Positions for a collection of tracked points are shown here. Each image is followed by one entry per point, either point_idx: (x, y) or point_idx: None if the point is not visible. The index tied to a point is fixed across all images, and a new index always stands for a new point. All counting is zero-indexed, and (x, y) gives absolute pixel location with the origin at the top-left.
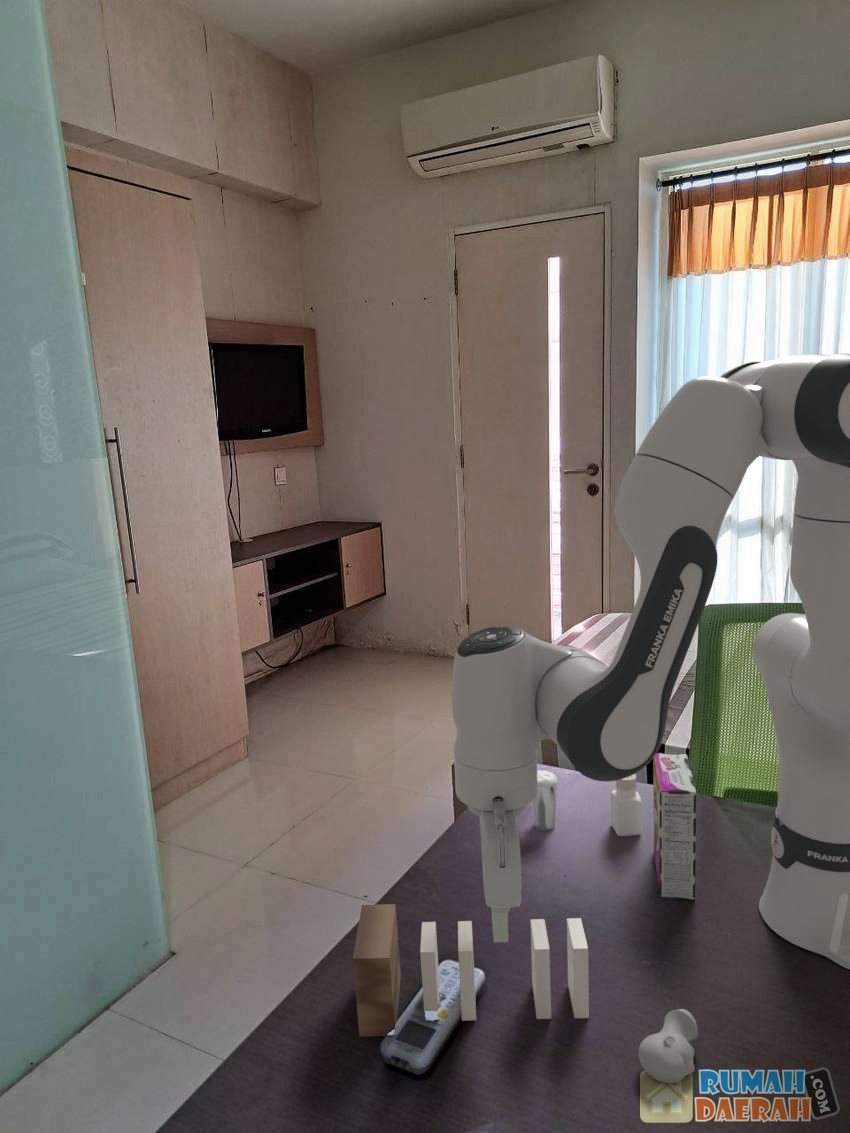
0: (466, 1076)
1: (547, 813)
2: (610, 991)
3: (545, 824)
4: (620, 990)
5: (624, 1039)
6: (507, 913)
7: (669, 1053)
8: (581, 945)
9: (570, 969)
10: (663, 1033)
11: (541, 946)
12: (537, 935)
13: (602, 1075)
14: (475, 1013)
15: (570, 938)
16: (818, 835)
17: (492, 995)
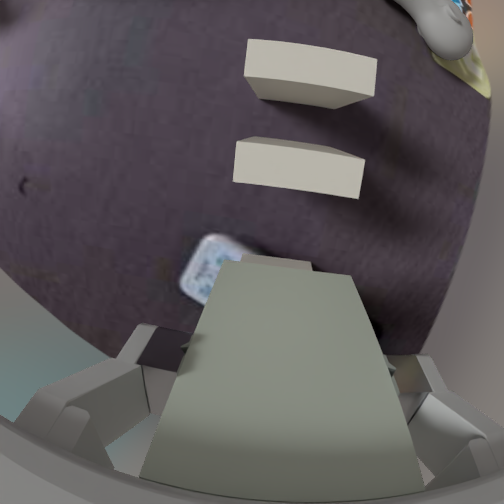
0: (395, 286)
1: None
2: (283, 35)
3: None
4: (282, 21)
5: (383, 53)
6: (371, 328)
7: (466, 25)
8: (364, 71)
9: (299, 96)
10: (434, 10)
11: (350, 178)
12: (306, 177)
13: (435, 111)
14: (310, 267)
15: (317, 86)
16: None
17: (264, 229)
